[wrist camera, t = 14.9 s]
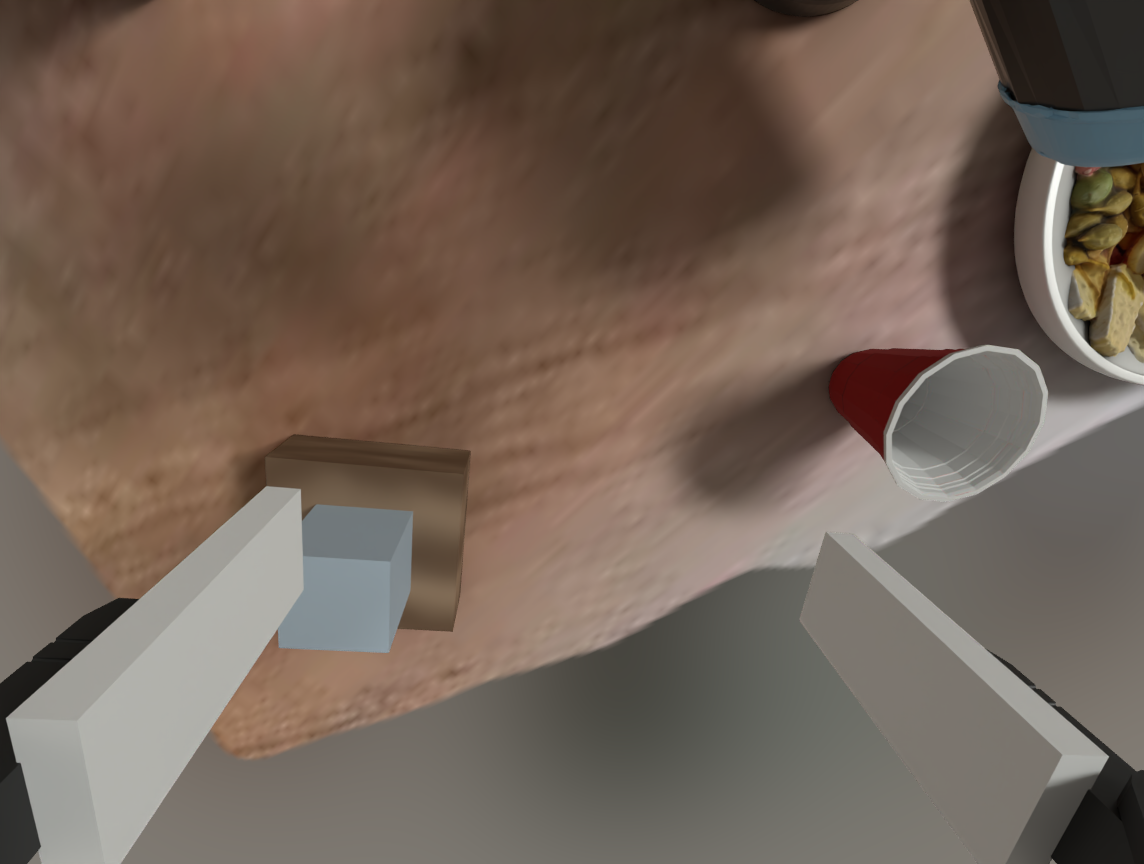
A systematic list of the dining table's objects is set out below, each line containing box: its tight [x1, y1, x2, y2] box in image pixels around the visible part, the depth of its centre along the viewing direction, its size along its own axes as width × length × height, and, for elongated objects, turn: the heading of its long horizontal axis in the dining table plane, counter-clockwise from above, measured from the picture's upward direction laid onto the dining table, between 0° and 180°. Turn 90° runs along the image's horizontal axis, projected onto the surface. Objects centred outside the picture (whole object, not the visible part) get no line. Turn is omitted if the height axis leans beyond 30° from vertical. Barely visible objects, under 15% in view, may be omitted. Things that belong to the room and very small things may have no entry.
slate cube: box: [278, 504, 413, 653], centre depth 38 cm, size 7×7×7 cm
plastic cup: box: [829, 345, 1048, 502], centre depth 40 cm, size 11×11×12 cm
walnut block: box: [265, 435, 471, 632], centre depth 44 cm, size 14×14×5 cm
